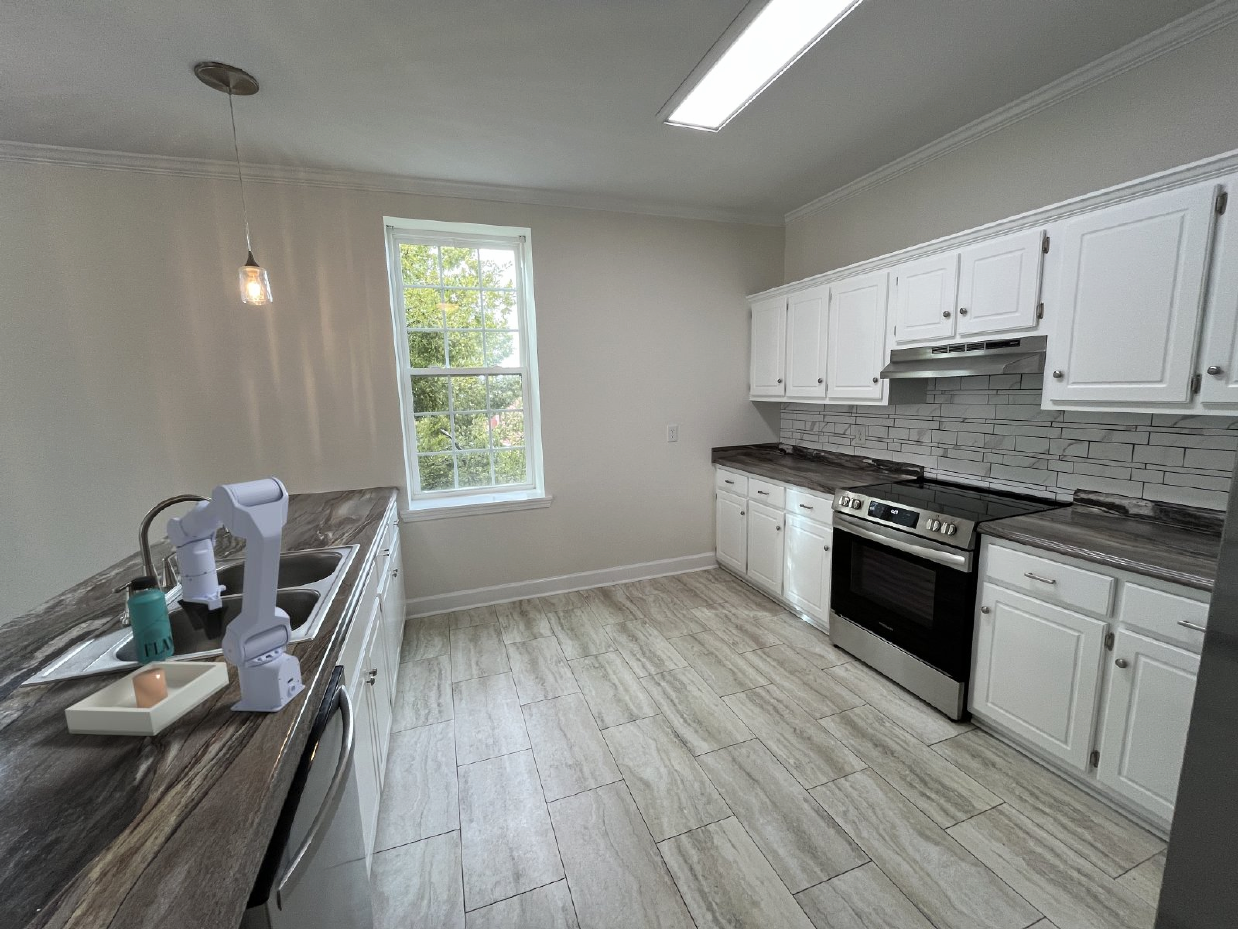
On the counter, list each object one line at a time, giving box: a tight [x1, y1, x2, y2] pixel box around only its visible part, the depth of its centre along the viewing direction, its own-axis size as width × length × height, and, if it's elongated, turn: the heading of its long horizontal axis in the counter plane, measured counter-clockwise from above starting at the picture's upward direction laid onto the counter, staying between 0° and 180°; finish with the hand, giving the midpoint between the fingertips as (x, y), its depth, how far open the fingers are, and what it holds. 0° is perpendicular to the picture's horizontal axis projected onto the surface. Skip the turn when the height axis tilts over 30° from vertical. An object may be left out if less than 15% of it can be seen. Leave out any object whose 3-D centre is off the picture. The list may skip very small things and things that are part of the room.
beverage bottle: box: [126, 575, 175, 665], centre depth 111 cm, size 6×7×20 cm
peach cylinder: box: [132, 668, 168, 708], centre depth 96 cm, size 4×4×6 cm
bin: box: [64, 660, 230, 737], centre depth 97 cm, size 16×16×5 cm
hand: (207, 633), depth 106 cm, fingers open, 7 cm apart
